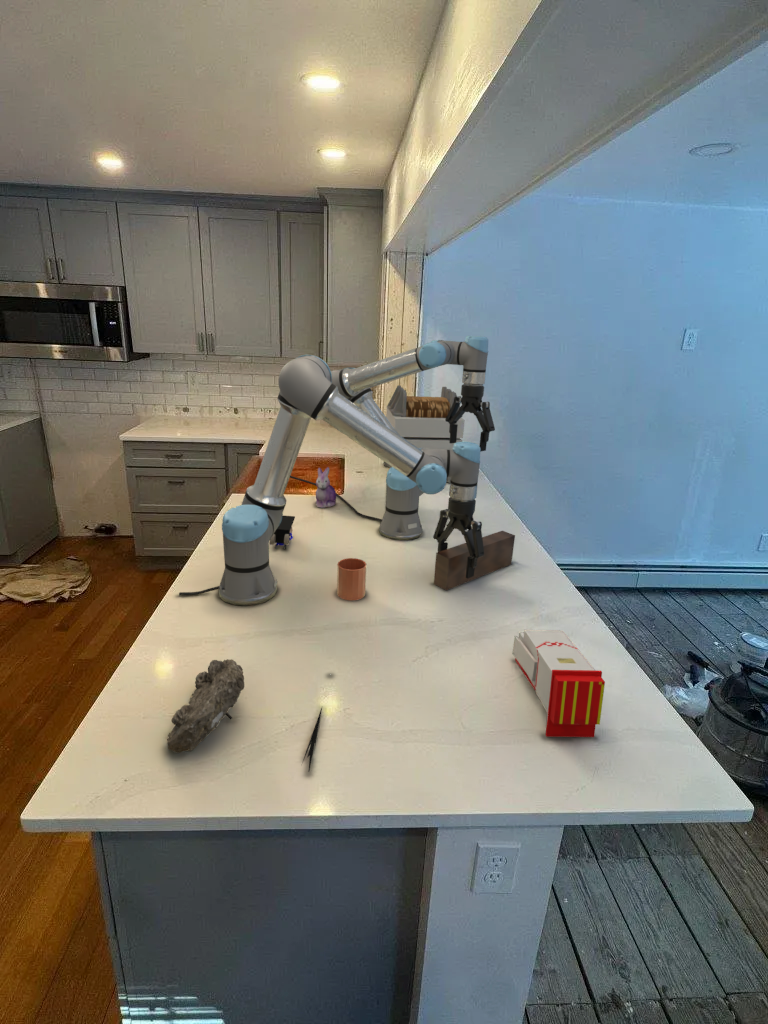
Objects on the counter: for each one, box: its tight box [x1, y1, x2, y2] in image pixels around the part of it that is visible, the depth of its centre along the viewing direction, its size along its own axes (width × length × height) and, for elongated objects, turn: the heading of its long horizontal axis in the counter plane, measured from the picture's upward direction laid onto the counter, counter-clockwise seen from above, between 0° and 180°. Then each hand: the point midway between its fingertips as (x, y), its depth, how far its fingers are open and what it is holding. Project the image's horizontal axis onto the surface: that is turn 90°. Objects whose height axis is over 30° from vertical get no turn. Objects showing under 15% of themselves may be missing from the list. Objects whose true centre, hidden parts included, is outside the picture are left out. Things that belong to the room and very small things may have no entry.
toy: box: [511, 629, 606, 738], centre depth 118 cm, size 12×13×30 cm
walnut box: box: [433, 530, 516, 591], centre depth 170 cm, size 30×5×10 cm, turn 131°
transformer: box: [383, 384, 465, 484], centre depth 268 cm, size 34×33×41 cm
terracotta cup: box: [336, 557, 368, 601], centre depth 155 cm, size 8×8×9 cm
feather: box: [301, 673, 332, 771], centre depth 108 cm, size 2×28×2 cm
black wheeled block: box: [269, 514, 296, 550], centre depth 186 cm, size 7×8×15 cm
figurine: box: [315, 466, 337, 509], centre depth 223 cm, size 9×10×15 cm
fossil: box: [166, 658, 245, 754], centre depth 106 cm, size 22×10×15 cm
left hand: (455, 570), depth 165 cm, fingers open, 10 cm apart
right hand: (467, 446), depth 196 cm, fingers open, 13 cm apart
